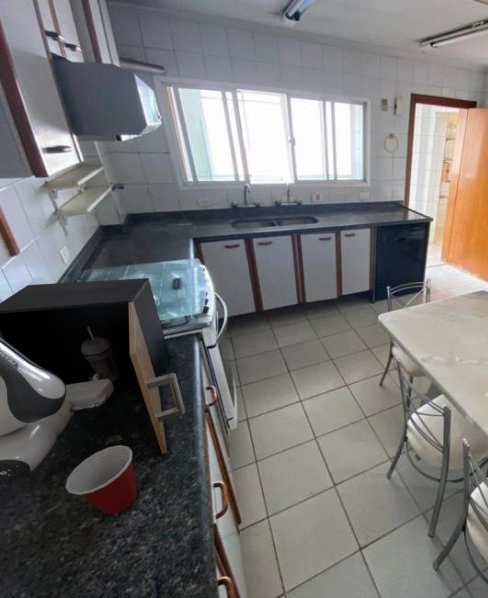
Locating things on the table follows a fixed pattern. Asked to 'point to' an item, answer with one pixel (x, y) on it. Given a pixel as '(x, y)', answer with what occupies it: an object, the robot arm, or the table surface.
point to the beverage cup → (100, 356)
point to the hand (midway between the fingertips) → (73, 379)
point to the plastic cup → (106, 479)
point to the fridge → (83, 326)
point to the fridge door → (151, 380)
